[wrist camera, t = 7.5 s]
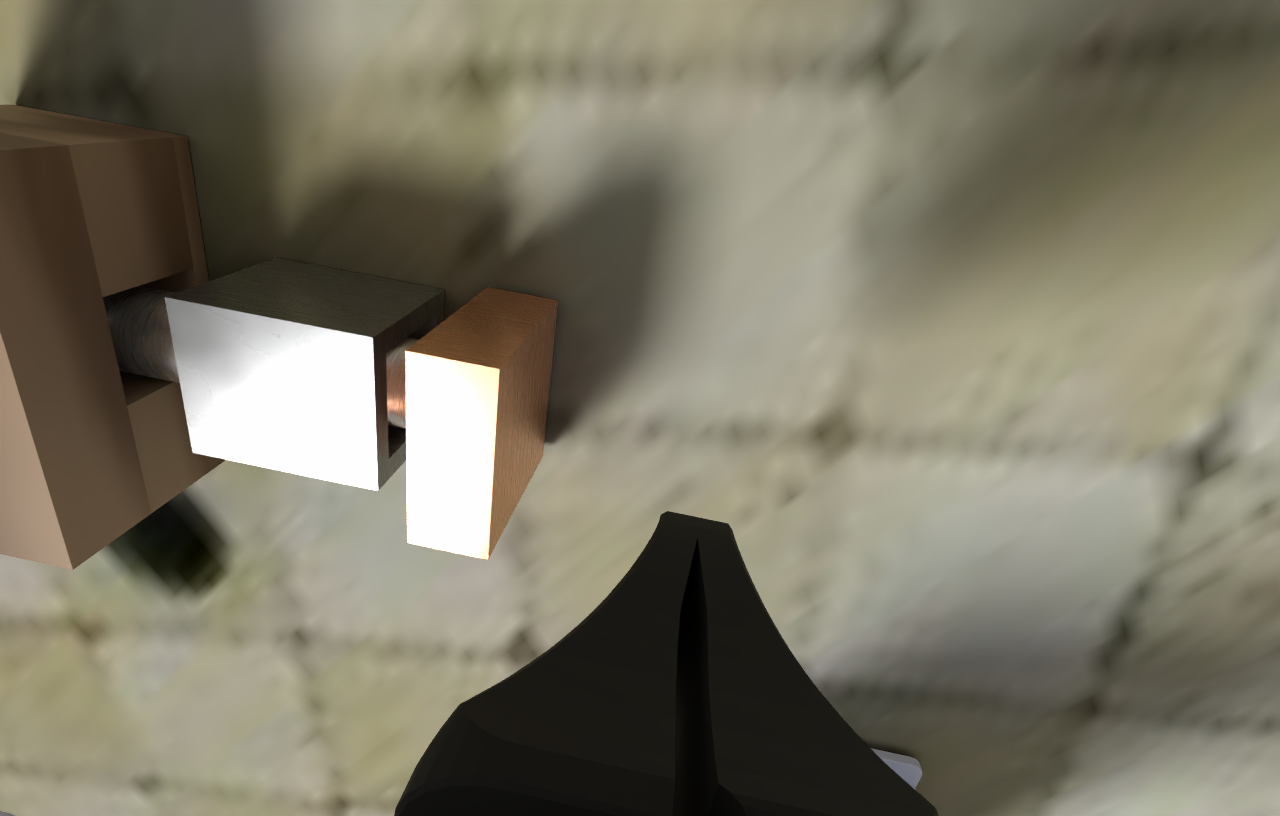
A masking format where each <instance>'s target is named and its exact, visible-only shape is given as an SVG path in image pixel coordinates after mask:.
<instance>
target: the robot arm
mask: <svg viewBox="0 0 1280 816" xmlns="http://www.w3.org/2000/svg"><path fill="white" fill-rule="evenodd" d="M921 777H922V769H921V766H920V763H919V761H917V760H916V759H915V758H912V757H909V756H905V755H900V754H895V753H891V752H886V751H882V750H877V749H872V748H870V747H869V746H868V745H867V744H866V743H865V742H864V741H863V740H862V739H861V738H860V737H859V736H858V735H857V734H856V733H855V732H854V731H853V729H852V728H851V727H850V726H849V725H848V724H847V723H846V722H845V721H844V720H843V718H842V717H841V716H840V715H839V714H838V712H837V711H836V710H835V709H834V708H833V707H832V705H831V704H830V703H829V702H828V701H827V699H826V698H825V697H824V696H823V695H822V693H821V692H820V691H819V690H818V689H817V687H816V686H815V685H814V683H813V682H812V681H811V679H810V678H809V677H808V675H807V674H806V673H805V671H804V670H803V668H802V667H801V665H800V664H799V663H798V661H797V660H796V658H795V657H794V655H793V654H792V652H791V651H790V649H789V648H788V646H787V644H786V643H785V641H784V640H783V638H782V636H781V635H780V633H779V631H778V630H777V628H776V626H775V624H774V623H773V621H772V619H771V617H770V616H769V614H768V612H767V610H766V608H765V606H764V604H763V602H762V600H761V598H760V596H759V594H758V592H757V590H756V588H755V586H754V584H753V582H752V580H751V578H750V575H749V573H748V571H747V569H746V566H745V564H744V561H743V559H742V556H741V554H740V551H739V549H738V546H737V543H736V540H735V537H734V534H733V531H732V529H731V527H730V526H729V524H728V523H723V522H718V521H713V520H708V519H703V518H698V517H693V516H688V515H684V514H679V513H674V512H669V511H667V512H665V513H663V514H661V516H660V520H659V523H658V525H657V527H656V530H655V532H654V533H653V535H652V537H651V539H650V540H649V542H648V544H647V545H646V547H645V549H644V550H643V552H642V553H641V554H640V556H639V557H638V559H637V560H636V562H635V563H634V564H633V566H632V567H631V569H630V570H629V571H628V572H627V574H626V575H625V576H624V577H623V578H622V580H621V581H620V582H619V583H618V584H617V586H616V587H615V588H614V589H613V590H612V592H611V593H610V594H609V595H608V596H607V597H606V598H605V599H604V600H603V601H602V603H601V604H600V605H599V606H598V607H597V608H596V609H595V610H594V611H593V612H592V613H591V614H590V615H589V616H587V617H586V618H585V619H584V620H583V621H582V622H581V623H580V624H579V625H578V626H577V627H575V628H574V629H573V630H572V631H571V632H570V633H568V634H567V635H566V636H565V637H564V638H563V639H561V640H560V641H559V642H558V643H556V644H555V645H554V646H553V647H551V648H550V649H549V650H547V651H546V652H545V653H543V654H542V655H540V656H539V657H538V658H536V659H535V660H533V661H532V662H530V663H529V664H527V665H526V666H524V667H523V668H521V669H520V670H519V671H517V672H516V673H514V674H513V675H511V676H509V677H508V678H506V679H505V680H503V681H501V682H499V683H498V684H496V685H494V686H492V687H490V688H489V689H487V690H485V691H483V692H481V693H480V694H478V695H476V696H474V697H472V698H471V699H469V700H467V701H465V702H463V703H461V704H460V705H459V706H458V707H457V708H456V710H455V711H454V712H453V713H452V715H451V716H450V717H449V718H448V720H447V721H446V722H445V724H444V725H443V726H442V728H441V729H440V730H439V732H438V733H437V735H436V736H435V737H434V739H433V740H432V742H431V743H430V745H429V746H428V748H427V750H426V751H425V753H424V754H423V756H422V757H421V759H420V761H419V763H418V764H417V766H416V768H415V770H414V772H413V774H412V776H411V778H410V780H409V782H408V784H407V786H406V788H405V790H404V792H403V794H402V797H401V799H400V801H399V803H398V805H397V807H396V810H395V815H394V816H939V815H938V813H937V810H936V808H935V807H934V806H933V805H932V804H930V803H929V802H928V801H927V800H926V799H925V798H924V797H923V796H921V795H920V794H919V793H918V792H917V790H916V786H917V784H918V782H919V781H920V779H921ZM0 816H15V815H13V814H10V813H6V812H2V811H0Z"/></svg>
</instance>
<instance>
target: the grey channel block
mask: <svg viewBox="0 0 1280 816" xmlns="http://www.w3.org/2000/svg"><path fill="white" fill-rule="evenodd" d="M444 297H445V289H440V288H435V287H429V286H424V285H419V284H413V283H408V282H403V281H398V280H392V279H387V278H382V277H376V276H371V275H366V274H361V273H355V272H350V271H345V270H339V269H334V268H329V267H324V266H318V265H313V264H308V263H302V262H297V261H292V260H287V259H281V258H273V259H270V260H268V261H265V262H262V263H259V264H256V265H254V266H251V267H248V268H245V269H242V270H239V271H237V272H234V273H231V274H228V275H225V276H223V277H220V278H217V279H214V280H211V281H208V282H206V283H203V284H200V285H197V286H194V287H191V288H189V289H186V290H183V291H180V292H177V293H175V294H172V295H169V296H166V297H164V298H165V303H166V309H167V314H168V320H169V325H170V331H171V336H172V342H173V348H174V353H175V359H176V364H177V370H178V375H179V381H180V386H181V392H182V397H183V403H184V408H185V414H186V419H187V425H188V430H189V436H190V441H191V447H192V453H197V454H201V455H206V456H211V457H216V458H221V459H226V460H231V461H235V462H240V463H245V464H250V465H255V466H260V467H264V468H269V469H274V470H279V471H284V472H289V473H294V474H298V475H303V476H308V477H313V478H318V479H323V480H328V481H332V482H337V483H342V484H347V485H352V486H357V487H362V488H366V489H371V490H376V491H378V490H379V489H380V488H381V487H382V486H383V485H384V484H385V483H386V482H387V480H388V479H389V478H390V477H391V476H392V475H393V474H394V473H395V472H396V470H397V469H398V468H399V467H400V466H401V465H402V464H403V463H404V462H405V460H406V459H407V455H406V428H402V427H397V426H392V425H388V410H387V369H386V352H388V351H389V350H390V349H392V348H393V347H394V346H396V345H397V344H398V343H400V342H401V341H402V340H404V339H405V338H412V339H417V340H420V339H421V338H423V337H424V336H425V335H426V334H428V333H429V332H430V331H432V330H433V329H434V328H435V327H437V326H438V325H439V324H441V323H442V322H443V321H444Z"/></svg>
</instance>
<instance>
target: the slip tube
mask: <svg viewBox="0 0 1280 816" xmlns="http://www.w3.org/2000/svg"><path fill="white" fill-rule="evenodd" d="M172 294H175V293H174V292H169V291H164V290H159V289H154V288H148V287H143V286H137V287H134V288H130V289H127V290H124V291H121V292H118V293H115V294H112V295H109V296H105V297H103V301H104V305H105V310H106V314H107V319H108V323H109V327H110V332H111V336H112V341H113V345H114V350H115V354H116V359H117V363H118V368H119V371H123V372H128V373H133V374H138V375H143V376H148V377H153V378H158V379H163V380H168V381H173V382H178V383H180V381H179V375H178V370H177V364H176V359H175V353H174V348H173V342H172V336H171V331H170V325H169V320H168V314H167V309H166V303H165V298H164V297H166V296H169V295H172ZM557 308H558V300H553V299H548V298H542V297H537V296H532V295H526V294H521V293H516V292H511V291H505V290H500V289H495V288H489V287H487V288H486V289H484V290H483V291H482V292H480V293H479V294H478V295H477V296H475V297H474V298H473V299H471V300H470V301H469V302H468V303H466V304H465V305H464V306H462V307H461V308H460V309H459V310H457V311H456V312H455V313H453V314H452V315H451V316H450V317H448V318H447V319H446V320H444V321H443V322H442V323H441V324H439V325H438V326H437V327H435V328H434V329H433V330H432V331H430V332H429V333H428V334H426V335H425V336H424V337H423V338H421V339H420V340H417V339H412V338H405V339H404V340H402V341H401V342H400V343H398V344H397V345H396V346H394V347H393V348H392V349H390V350H389V351H388V352H386V369H387V410H388V425H392V426H397V427H402V428H406V455H407V543H411V544H416V545H421V546H426V547H430V548H435V549H440V550H445V551H449V552H454V553H459V554H464V555H469V556H473V557H478V558H483V559H489V557H490V555H491V553H492V551H493V549H494V547H495V545H496V544H497V542H498V540H499V538H500V536H501V534H502V532H503V530H504V528H505V527H506V525H507V523H508V521H509V519H510V517H511V515H512V513H513V512H514V510H515V508H516V506H517V504H518V502H519V500H520V498H521V496H522V495H523V493H524V491H525V489H526V487H527V485H528V483H529V481H530V479H531V478H532V476H533V474H534V472H535V470H536V468H537V466H538V464H539V462H540V461H541V459H542V457H543V450H544V439H545V429H546V419H547V409H548V399H549V389H550V379H551V369H552V359H553V348H554V338H555V328H556V318H557Z"/></svg>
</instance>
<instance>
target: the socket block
mask: <svg viewBox="0 0 1280 816" xmlns="http://www.w3.org/2000/svg"><path fill="white" fill-rule="evenodd" d="M208 281H209V279H208V272H207V266H206V259H205V252H204V245H203V238H202V232H201V225H200V218H199V211H198V205H197V198H196V191H195V184H194V178H193V171H192V164H191V157H190V150H189V144H188V137H187V136H183V135H178V134H172V133H167V132H161V131H156V130H150V129H145V128H139V127H134V126H128V125H123V124H117V123H112V122H106V121H101V120H95V119H89V118H84V117H78V116H73V115H67V114H62V113H56V112H51V111H45V110H40V109H34V108H29V107H23V106H18V105H0V554H3V555H8V556H12V557H17V558H21V559H26V560H31V561H35V562H40V563H44V564H49V565H54V566H58V567H63V568H67V569H72V570H73V569H74V568H76V567H77V566H79V565H80V564H81V563H83V562H84V561H86V560H87V559H88V558H90V557H91V556H93V555H94V554H95V553H97V552H98V551H100V550H101V549H102V548H104V547H105V546H106V545H108V544H109V543H111V542H112V541H113V540H115V539H116V538H118V537H119V536H120V535H122V534H123V533H125V532H126V531H127V530H129V529H130V528H132V527H133V526H134V525H136V524H137V523H139V522H140V521H141V520H143V519H144V518H145V517H147V516H148V515H150V514H151V513H152V512H154V511H155V510H157V509H158V508H159V507H161V506H162V505H164V504H165V503H166V502H168V501H169V500H171V499H172V498H173V497H175V496H176V495H178V494H179V493H180V492H182V491H183V490H185V489H186V488H187V487H189V486H190V485H191V484H193V483H194V482H196V481H197V480H198V479H200V478H201V477H203V476H204V475H205V474H207V473H208V472H210V471H211V470H212V469H214V468H215V467H217V466H218V465H219V464H221V463H222V462H224V461H225V460H226V459H221V458H216V457H211V456H206V455H201V454H197V453H192V447H191V441H190V436H189V430H188V425H187V419H186V414H185V408H184V403H183V397H182V392H181V386H180V383H178V382H173V381H168V380H163V379H158V378H153V377H148V376H143V375H138V374H133V373H128V372H123V371H119V368H118V363H117V359H116V354H115V350H114V345H113V341H112V336H111V332H110V327H109V323H108V319H107V314H106V310H105V305H104V301H103V297H105V296H109V295H112V294H115V293H118V292H121V291H124V290H127V289H130V288H134V287H137V286H143V287H148V288H154V289H159V290H164V291H169V292H174V293H177V292H180V291H183V290H186V289H189V288H191V287H194V286H197V285H200V284H203V283H206V282H208Z"/></svg>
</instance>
